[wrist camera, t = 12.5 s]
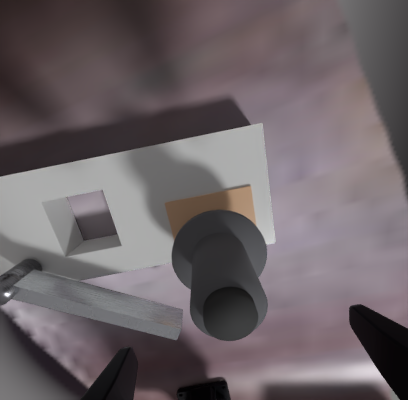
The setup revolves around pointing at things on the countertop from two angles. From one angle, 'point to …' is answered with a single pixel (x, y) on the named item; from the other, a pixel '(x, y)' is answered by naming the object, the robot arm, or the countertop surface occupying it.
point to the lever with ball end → (88, 300)
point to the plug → (222, 272)
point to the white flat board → (133, 202)
